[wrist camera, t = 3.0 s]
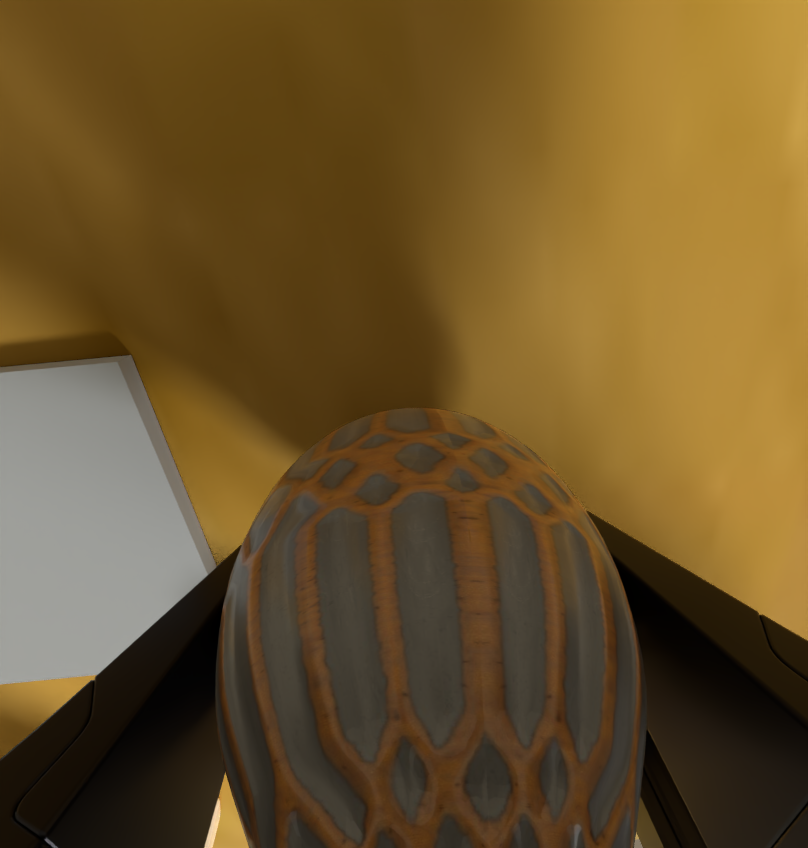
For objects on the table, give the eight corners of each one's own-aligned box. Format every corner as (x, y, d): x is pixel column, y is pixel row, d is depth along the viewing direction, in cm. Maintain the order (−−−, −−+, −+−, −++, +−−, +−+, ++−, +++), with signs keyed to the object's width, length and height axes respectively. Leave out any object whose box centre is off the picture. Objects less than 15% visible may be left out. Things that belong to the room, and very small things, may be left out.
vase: (288, 576, 12) (108, 1230, 4) (271, 358, 9) (-508, 1255, 1) (507, 580, 13) (717, 1168, 5) (562, 375, 10) (1416, 1066, 2)
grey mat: (131, 355, 10) (117, 361, 10) (248, 645, 16) (243, 660, 15) (-330, 397, 10) (-369, 407, 10) (-53, 675, 16) (-69, 691, 15)
